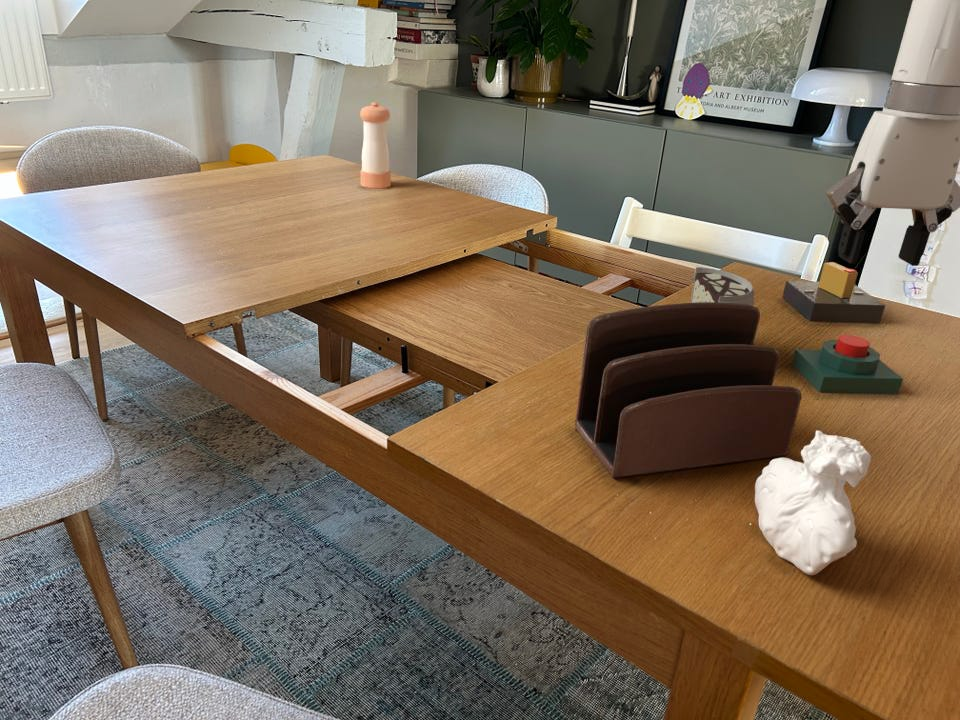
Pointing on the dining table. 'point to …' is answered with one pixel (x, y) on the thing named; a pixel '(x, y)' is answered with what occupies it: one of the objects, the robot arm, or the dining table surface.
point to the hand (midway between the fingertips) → (877, 259)
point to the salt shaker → (375, 147)
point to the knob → (838, 280)
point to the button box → (846, 371)
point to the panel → (832, 304)
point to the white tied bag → (811, 502)
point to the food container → (721, 287)
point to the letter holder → (681, 389)
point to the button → (852, 346)
